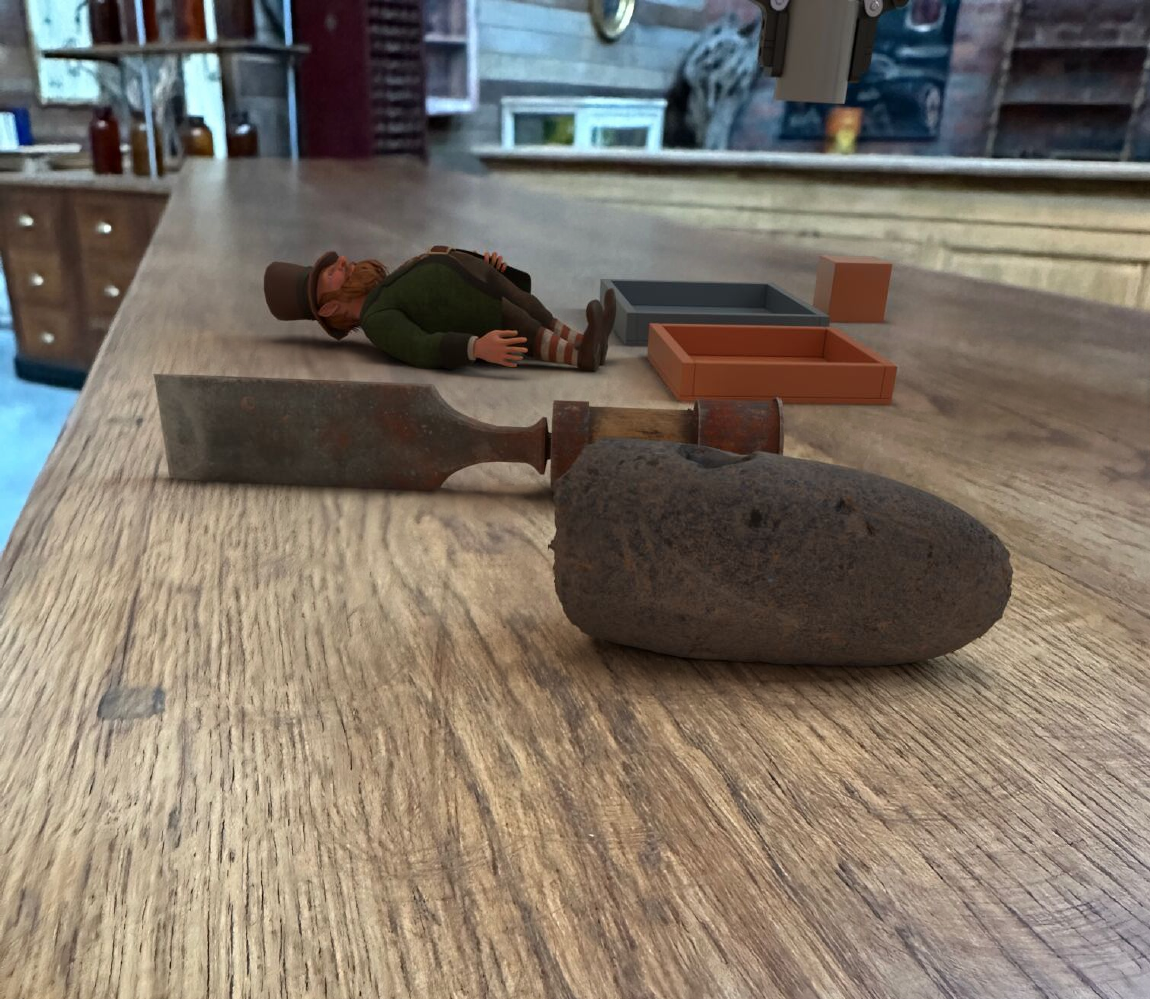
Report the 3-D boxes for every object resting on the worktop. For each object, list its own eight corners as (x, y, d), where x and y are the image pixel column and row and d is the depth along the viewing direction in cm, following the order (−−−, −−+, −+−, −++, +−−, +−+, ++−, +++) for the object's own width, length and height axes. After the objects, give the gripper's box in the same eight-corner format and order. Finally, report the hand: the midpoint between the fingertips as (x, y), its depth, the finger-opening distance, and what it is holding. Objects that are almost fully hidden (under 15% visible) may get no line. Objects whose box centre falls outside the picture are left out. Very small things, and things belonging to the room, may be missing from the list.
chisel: (150, 501, 51) (131, 387, 48) (185, 469, 55) (169, 363, 53) (774, 525, 51) (788, 412, 48) (761, 491, 55) (773, 386, 53)
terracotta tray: (829, 364, 83) (834, 326, 82) (890, 408, 72) (898, 365, 70) (646, 361, 82) (649, 323, 80) (679, 406, 70) (682, 362, 69)
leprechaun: (581, 352, 71) (213, 279, 74) (580, 460, 79) (250, 390, 82) (624, 241, 76) (277, 177, 79) (619, 354, 84) (306, 292, 87)
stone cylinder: (832, 103, 82) (846, 4, 79) (854, 104, 78) (870, 0, 75) (765, 99, 82) (777, -1, 78) (783, 100, 77) (796, -5, 74)
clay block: (864, 316, 103) (874, 256, 100) (882, 326, 98) (892, 263, 96) (811, 315, 102) (819, 254, 100) (826, 325, 98) (835, 262, 95)
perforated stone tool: (980, 645, 40) (1027, 450, 37) (1005, 712, 36) (1061, 498, 32) (566, 606, 42) (572, 416, 38) (541, 666, 38) (545, 458, 34)
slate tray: (770, 313, 102) (774, 282, 101) (825, 352, 87) (830, 316, 86) (599, 310, 100) (600, 278, 99) (625, 349, 85) (627, 312, 84)
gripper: (756, -265, 66) (723, 74, 75) (988, -244, 68) (929, 86, 77) (728, -235, 73) (700, 74, 81) (941, -216, 74) (891, 85, 83)
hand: (811, 78), depth 79 cm, fingers closed on stone cylinder, 5 cm apart
